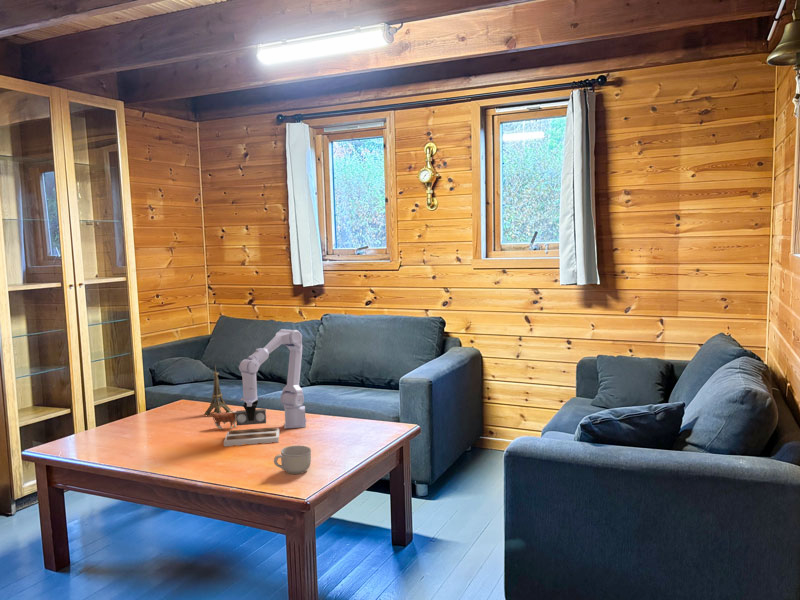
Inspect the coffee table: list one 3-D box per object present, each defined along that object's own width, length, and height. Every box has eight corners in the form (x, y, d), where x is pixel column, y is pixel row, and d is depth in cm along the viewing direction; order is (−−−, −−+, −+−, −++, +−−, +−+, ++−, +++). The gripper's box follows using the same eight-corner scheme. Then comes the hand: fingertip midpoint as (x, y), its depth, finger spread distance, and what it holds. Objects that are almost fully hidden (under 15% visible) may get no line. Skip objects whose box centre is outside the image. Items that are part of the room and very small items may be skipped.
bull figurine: (242, 429, 282) (241, 411, 281) (212, 429, 282) (211, 412, 281) (244, 426, 286) (243, 408, 286) (215, 427, 286) (214, 409, 286)
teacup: (306, 464, 232) (305, 443, 231) (316, 472, 222) (315, 450, 222) (269, 471, 225) (268, 449, 225) (278, 480, 216) (277, 458, 215)
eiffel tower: (216, 410, 317) (213, 362, 315) (233, 412, 313) (230, 362, 311) (202, 416, 308) (199, 365, 306) (219, 417, 304) (216, 366, 302)
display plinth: (279, 432, 274) (279, 425, 274) (278, 442, 260) (278, 434, 260) (227, 436, 270) (227, 429, 270) (224, 446, 257) (223, 438, 256)
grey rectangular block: (266, 421, 267) (265, 408, 267) (265, 423, 264) (265, 410, 264) (237, 423, 266) (236, 410, 265) (236, 425, 262) (236, 412, 262)
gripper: (241, 384, 270) (243, 415, 271) (238, 392, 256) (240, 424, 257) (258, 383, 271) (259, 414, 272) (256, 390, 257) (257, 423, 258)
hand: (251, 419), depth 265 cm, fingers closed on grey rectangular block, 3 cm apart
